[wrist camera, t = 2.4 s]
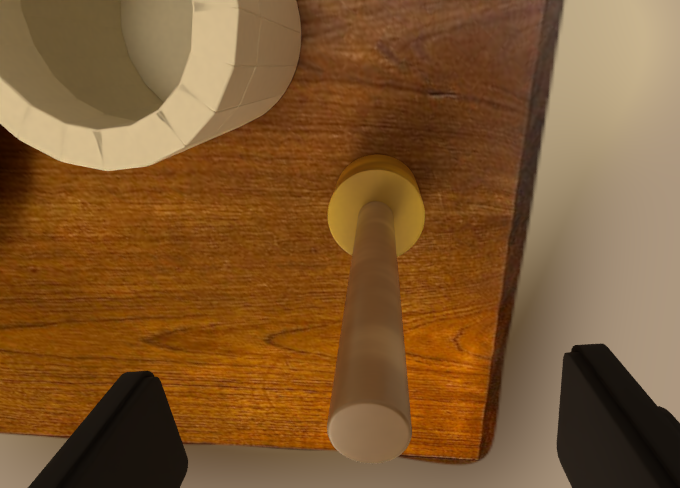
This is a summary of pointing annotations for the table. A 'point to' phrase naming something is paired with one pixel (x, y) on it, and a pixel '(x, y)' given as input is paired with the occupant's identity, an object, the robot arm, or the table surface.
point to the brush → (373, 308)
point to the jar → (140, 74)
